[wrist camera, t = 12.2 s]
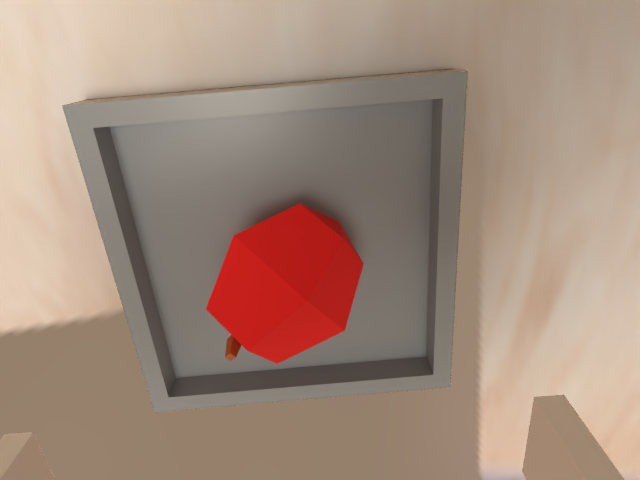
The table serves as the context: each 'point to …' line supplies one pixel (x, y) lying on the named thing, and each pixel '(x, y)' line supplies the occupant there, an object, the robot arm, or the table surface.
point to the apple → (286, 284)
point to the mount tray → (269, 200)
